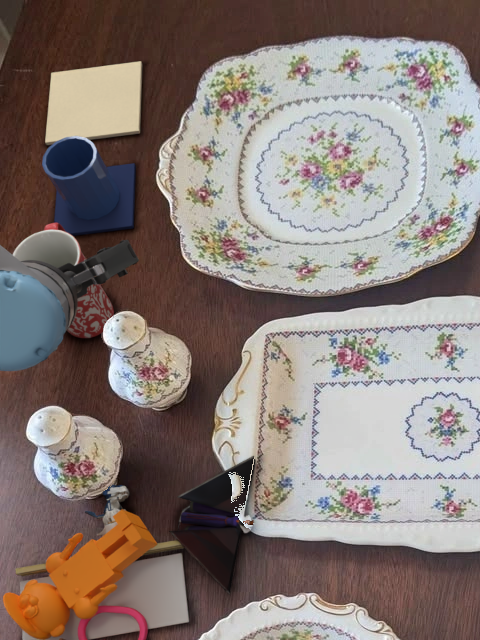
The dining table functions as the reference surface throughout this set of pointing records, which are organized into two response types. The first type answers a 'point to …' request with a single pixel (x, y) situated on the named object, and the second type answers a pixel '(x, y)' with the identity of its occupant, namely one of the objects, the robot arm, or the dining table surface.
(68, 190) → the blue cup
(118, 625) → the sign holder
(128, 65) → the cream mat
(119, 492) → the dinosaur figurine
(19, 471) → the dining table surface
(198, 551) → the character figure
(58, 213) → the navy mat
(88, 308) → the mug
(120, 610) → the fitness band
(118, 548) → the toy
